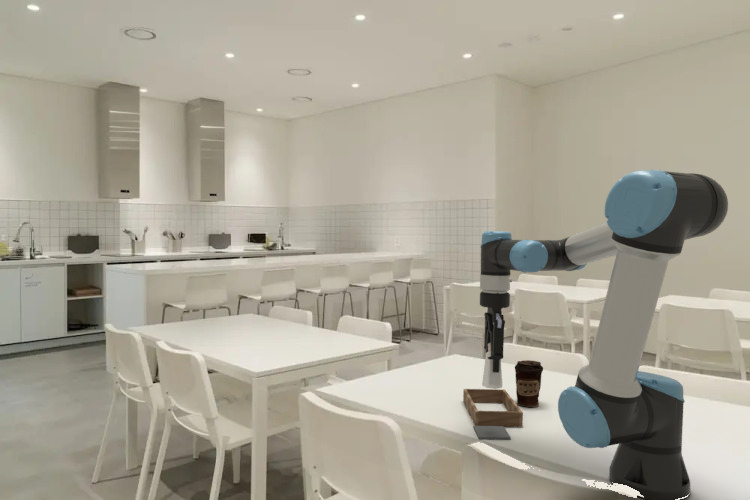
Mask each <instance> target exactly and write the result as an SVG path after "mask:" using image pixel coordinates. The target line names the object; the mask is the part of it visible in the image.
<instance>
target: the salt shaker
mask: <svg viewBox="0 0 750 500" xmlns="http://www.w3.org/2000/svg"><path fill="white" fill-rule="evenodd" d="M488 357H491V343H488V352H487V353H486V352H485V359H484V367H483V375H482V383H481V385H482V387H484V388H485V389H502V388H503V374H502V373H503V372H502V370H501V374H500V385H489V362H490V359H488Z"/></svg>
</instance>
